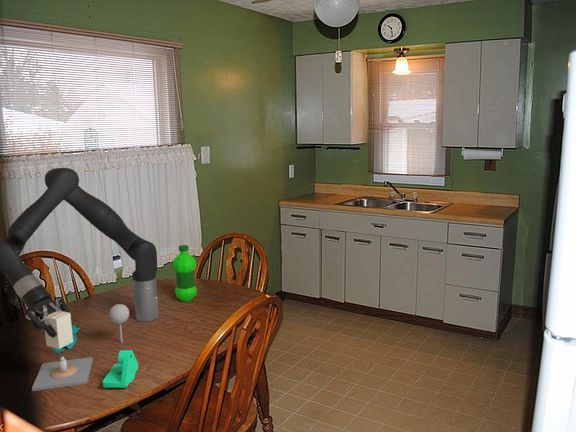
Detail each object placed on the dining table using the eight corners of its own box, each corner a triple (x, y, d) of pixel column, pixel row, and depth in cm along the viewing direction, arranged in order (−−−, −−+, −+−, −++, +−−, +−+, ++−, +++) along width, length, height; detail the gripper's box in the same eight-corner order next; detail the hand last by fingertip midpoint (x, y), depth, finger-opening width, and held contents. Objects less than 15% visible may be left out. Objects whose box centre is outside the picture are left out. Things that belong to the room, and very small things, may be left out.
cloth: (62, 326, 205) (61, 321, 204) (96, 325, 205) (95, 320, 204) (29, 357, 179) (28, 351, 179) (68, 357, 179) (67, 351, 179)
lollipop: (135, 339, 191) (132, 302, 187) (123, 348, 184) (120, 309, 181) (119, 337, 193) (116, 300, 190) (107, 345, 186) (103, 307, 183)
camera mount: (116, 370, 169) (113, 342, 167) (138, 370, 169) (136, 342, 166) (102, 390, 157) (99, 360, 155) (126, 390, 157) (123, 360, 155)
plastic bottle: (186, 293, 237) (183, 242, 231) (202, 298, 231) (200, 245, 225) (170, 300, 229) (166, 247, 223) (186, 305, 223) (183, 250, 217)
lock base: (92, 359, 176) (91, 343, 174) (87, 383, 161) (85, 365, 159) (42, 366, 172) (40, 349, 171) (32, 391, 157) (29, 373, 155)
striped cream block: (60, 338, 168) (57, 309, 165) (73, 341, 165) (70, 312, 163) (46, 345, 163) (43, 315, 160) (59, 349, 160) (56, 318, 158)
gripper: (17, 292, 156) (49, 335, 154) (55, 278, 169) (85, 317, 167) (7, 306, 160) (39, 347, 157) (45, 291, 172) (74, 329, 170)
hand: (62, 331), depth 162 cm, fingers closed on striped cream block, 5 cm apart
